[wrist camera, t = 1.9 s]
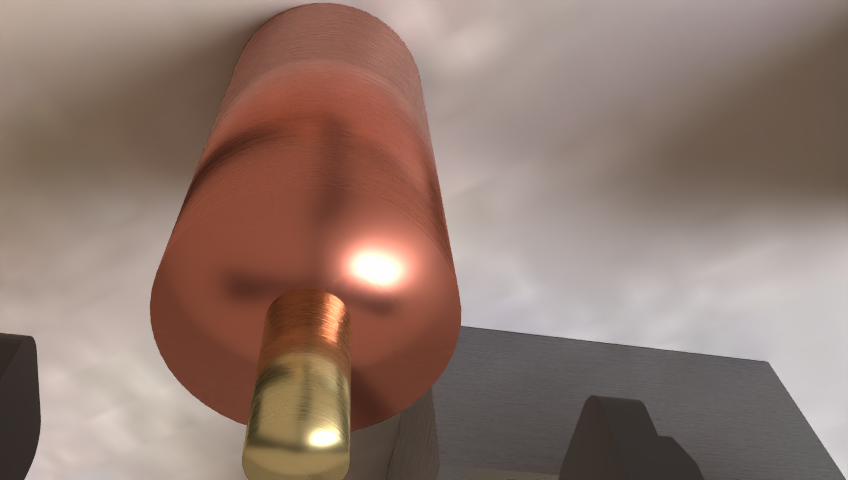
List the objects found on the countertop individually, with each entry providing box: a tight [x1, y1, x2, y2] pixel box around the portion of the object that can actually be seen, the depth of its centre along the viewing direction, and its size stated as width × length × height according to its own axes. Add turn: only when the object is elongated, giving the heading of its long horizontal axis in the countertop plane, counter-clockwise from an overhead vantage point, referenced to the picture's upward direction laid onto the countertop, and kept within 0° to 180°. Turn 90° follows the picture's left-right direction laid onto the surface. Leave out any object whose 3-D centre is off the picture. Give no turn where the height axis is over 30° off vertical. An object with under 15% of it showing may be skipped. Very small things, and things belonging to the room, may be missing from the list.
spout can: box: [150, 3, 461, 480], centre depth 16 cm, size 5×5×13 cm
